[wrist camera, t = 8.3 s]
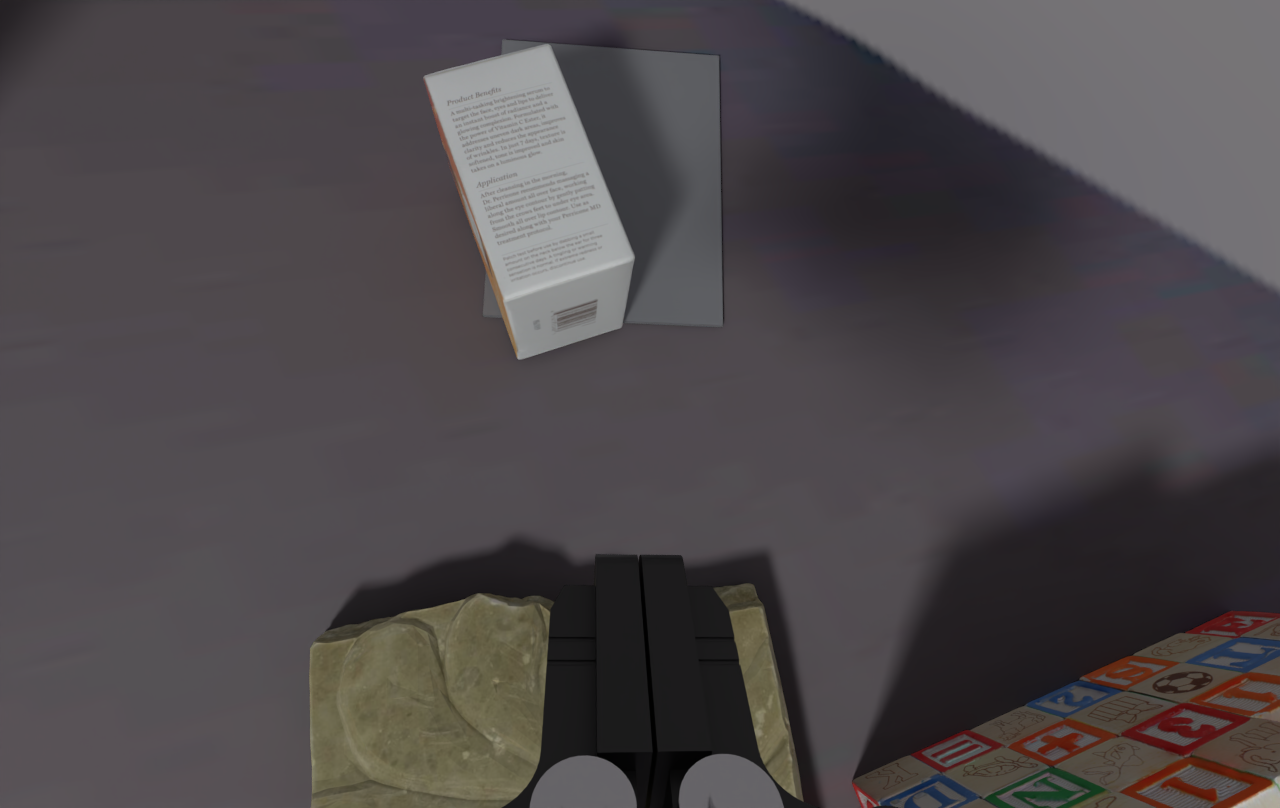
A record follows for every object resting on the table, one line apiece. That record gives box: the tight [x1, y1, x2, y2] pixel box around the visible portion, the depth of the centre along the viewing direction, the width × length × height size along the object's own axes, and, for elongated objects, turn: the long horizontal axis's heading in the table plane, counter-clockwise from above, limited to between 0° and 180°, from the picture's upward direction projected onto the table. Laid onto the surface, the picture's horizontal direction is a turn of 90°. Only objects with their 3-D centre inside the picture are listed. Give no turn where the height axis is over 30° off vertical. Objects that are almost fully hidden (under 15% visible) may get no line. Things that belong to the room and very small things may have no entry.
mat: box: [483, 40, 723, 327], centre depth 37 cm, size 12×16×1 cm
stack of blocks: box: [852, 611, 1280, 808], centre depth 26 cm, size 21×6×12 cm, turn 111°
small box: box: [423, 44, 635, 359], centre depth 31 cm, size 8×6×10 cm
